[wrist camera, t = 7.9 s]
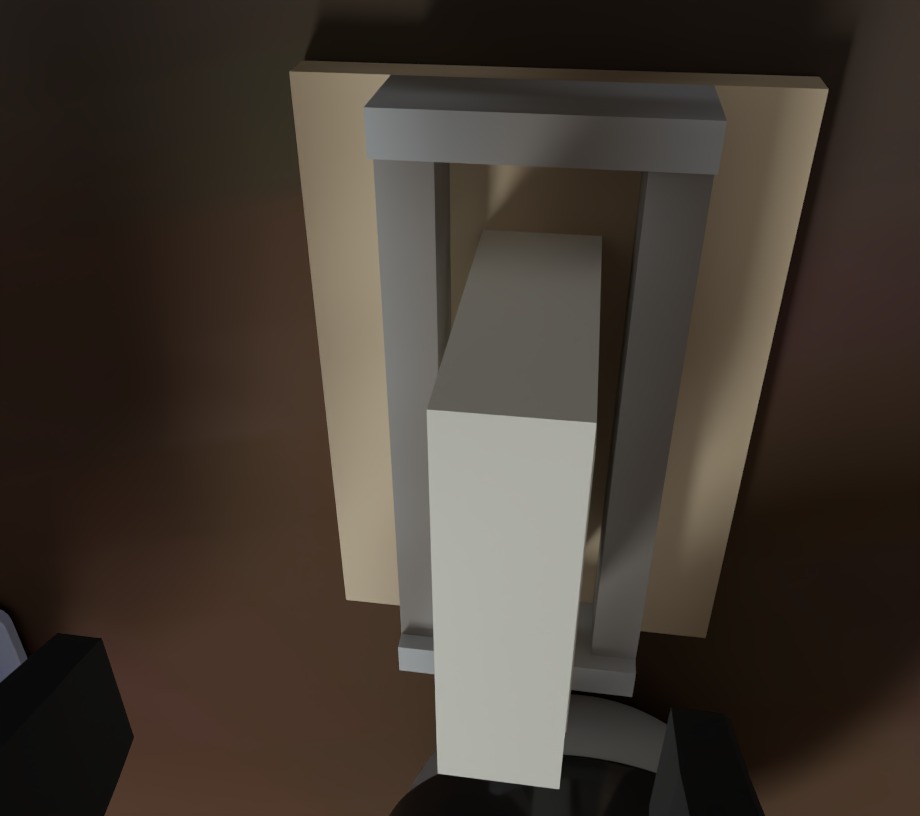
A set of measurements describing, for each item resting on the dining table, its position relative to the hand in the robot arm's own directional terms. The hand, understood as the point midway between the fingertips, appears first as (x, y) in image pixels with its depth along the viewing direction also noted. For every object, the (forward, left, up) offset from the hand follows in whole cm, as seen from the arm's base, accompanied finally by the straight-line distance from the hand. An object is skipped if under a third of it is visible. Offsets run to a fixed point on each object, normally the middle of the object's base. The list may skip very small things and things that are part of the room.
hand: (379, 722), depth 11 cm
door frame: (+1, -1, -9) cm, 9 cm away
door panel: (+1, -1, -8) cm, 9 cm away
